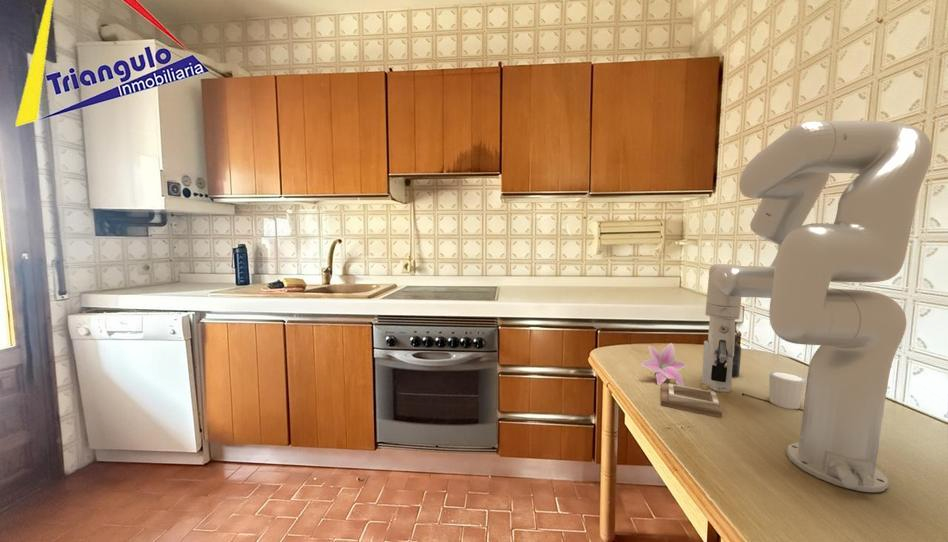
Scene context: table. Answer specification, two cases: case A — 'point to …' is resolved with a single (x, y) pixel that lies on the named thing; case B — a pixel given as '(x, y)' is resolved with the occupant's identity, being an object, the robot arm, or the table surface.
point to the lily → (664, 364)
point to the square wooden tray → (690, 399)
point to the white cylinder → (786, 389)
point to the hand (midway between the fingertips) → (716, 375)
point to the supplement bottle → (736, 358)
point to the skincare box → (707, 369)
